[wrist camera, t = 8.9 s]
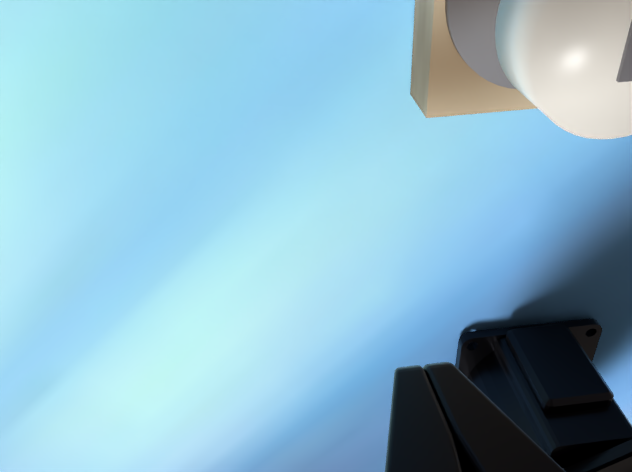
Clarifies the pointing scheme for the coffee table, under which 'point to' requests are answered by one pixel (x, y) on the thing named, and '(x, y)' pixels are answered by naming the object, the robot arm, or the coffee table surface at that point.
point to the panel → (459, 60)
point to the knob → (571, 61)
